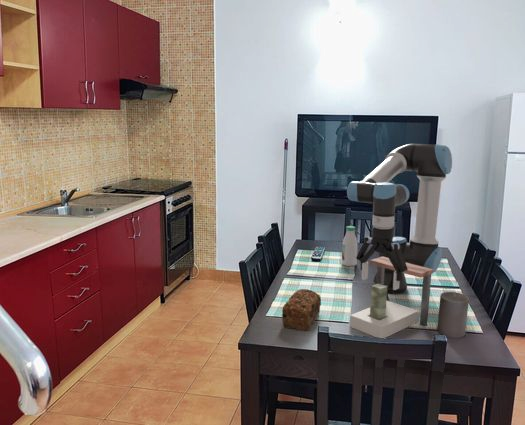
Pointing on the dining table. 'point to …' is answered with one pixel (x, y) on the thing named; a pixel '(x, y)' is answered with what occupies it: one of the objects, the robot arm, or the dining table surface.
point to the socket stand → (394, 305)
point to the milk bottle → (349, 247)
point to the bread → (301, 309)
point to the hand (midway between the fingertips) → (379, 284)
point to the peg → (378, 301)
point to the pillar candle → (452, 314)
